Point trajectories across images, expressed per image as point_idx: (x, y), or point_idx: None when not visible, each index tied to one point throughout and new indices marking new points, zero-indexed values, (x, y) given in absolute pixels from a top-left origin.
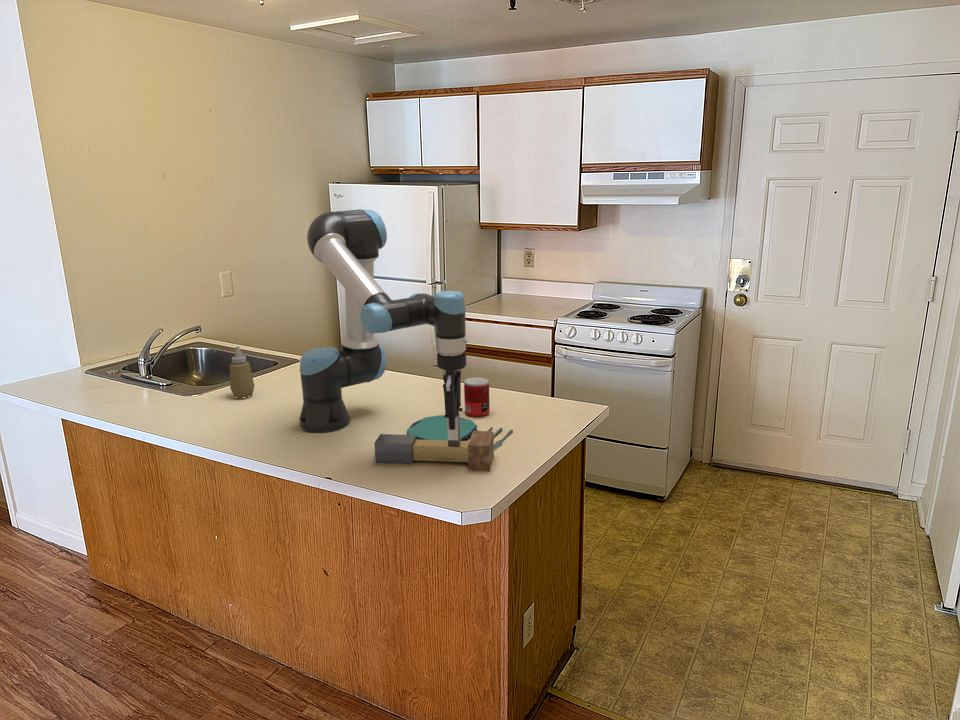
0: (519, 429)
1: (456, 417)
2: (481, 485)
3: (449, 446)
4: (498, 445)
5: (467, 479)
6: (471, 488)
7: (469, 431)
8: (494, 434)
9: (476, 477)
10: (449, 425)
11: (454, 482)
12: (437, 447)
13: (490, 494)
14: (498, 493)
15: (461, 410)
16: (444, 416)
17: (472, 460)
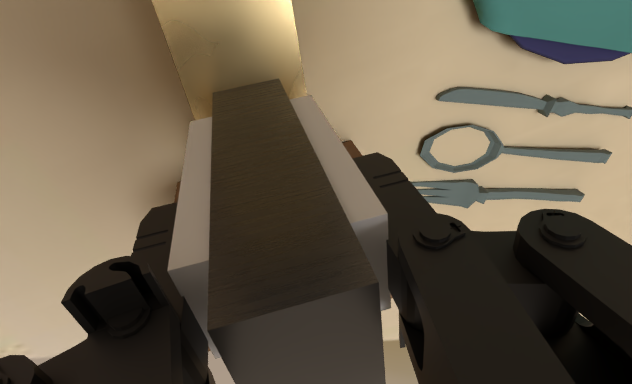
0: (593, 205)
1: (213, 349)
2: (64, 277)
3: (200, 109)
4: (447, 199)
5: (82, 213)
6: (8, 259)
7: (600, 34)
8: (550, 154)
9: (124, 235)
10: (136, 247)
11: (9, 176)
12: (157, 14)
13: (13, 326)
14: (42, 340)
15: (401, 336)
16: (70, 298)
17: None
